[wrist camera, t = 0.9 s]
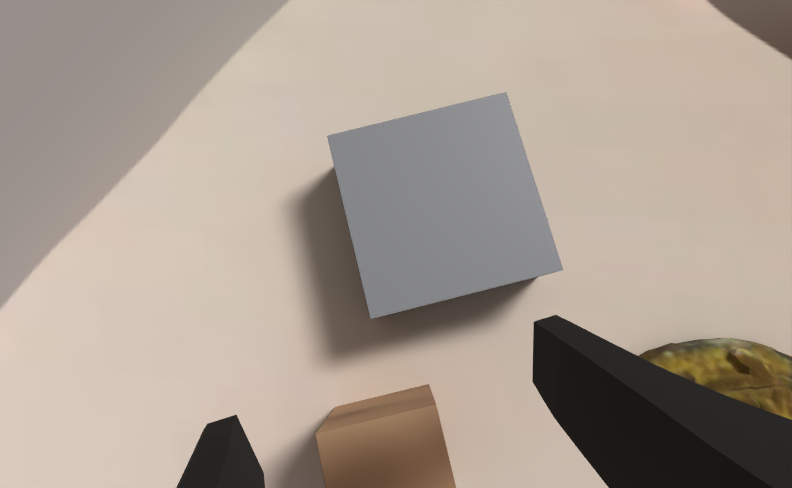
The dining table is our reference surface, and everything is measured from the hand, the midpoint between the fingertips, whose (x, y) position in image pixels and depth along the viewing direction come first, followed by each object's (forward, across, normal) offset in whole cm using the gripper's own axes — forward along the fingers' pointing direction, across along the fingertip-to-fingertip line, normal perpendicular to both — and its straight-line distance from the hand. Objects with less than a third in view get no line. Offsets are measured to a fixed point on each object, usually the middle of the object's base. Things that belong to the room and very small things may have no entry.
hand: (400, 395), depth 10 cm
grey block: (+13, -6, +2) cm, 15 cm away
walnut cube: (+7, 0, +11) cm, 13 cm away
